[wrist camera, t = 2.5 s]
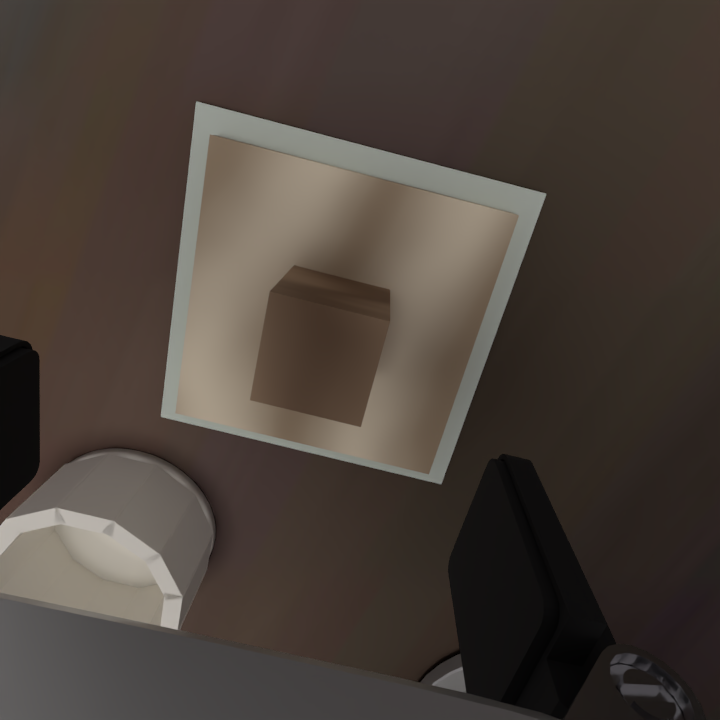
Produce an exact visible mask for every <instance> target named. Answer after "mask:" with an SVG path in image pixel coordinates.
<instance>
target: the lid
mask: <svg viewBox="0 0 720 720" xmlns="http://www.w3.org/2000/svg"><path fill="white" fill-rule="evenodd" d="M518 217H519V215H517V214H514V213H511V212H508V211H504V210H500V209H496V208H492V207H488V206H485V205H481V204H477V203H473V202H469V201H466V200H462V199H458V198H454V197H450V196H446V195H443V194H439V193H435V192H431V191H427V190H424V189H420V188H416V187H412V186H408V185H404V184H401V183H397V182H393V181H389V180H385V179H382V178H378V177H374V176H370V175H366V174H362V173H359V172H355V171H351V170H347V169H343V168H340V167H336V166H332V165H328V164H324V163H320V162H317V161H313V160H309V159H305V158H301V157H298V156H294V155H290V154H286V153H282V152H278V151H275V150H271V149H267V148H263V147H259V146H255V145H252V144H248V143H244V142H240V141H236V140H233V139H229V138H225V137H221V136H217V135H210V137H209V145H208V153H207V161H206V169H205V177H204V186H203V194H202V202H201V210H200V218H199V226H198V234H197V242H196V250H195V258H194V266H193V274H192V282H191V291H190V299H189V307H188V315H187V323H186V331H185V339H184V347H183V355H182V363H181V371H180V379H179V387H178V396H177V404H176V412H175V413H176V414H181V415H185V416H189V417H193V418H197V419H201V420H205V421H210V422H214V423H218V424H222V425H226V426H230V427H234V428H239V429H243V430H247V431H251V432H255V433H259V434H263V435H268V436H272V437H276V438H280V439H284V440H288V441H292V442H297V443H301V444H305V445H309V446H313V447H317V448H321V449H326V450H330V451H334V452H338V453H342V454H346V455H350V456H355V457H359V458H363V459H367V460H371V461H375V462H379V463H384V464H388V465H392V466H396V467H400V468H404V469H408V470H413V471H417V472H421V473H425V474H429V473H430V470H431V467H432V464H433V461H434V458H435V456H436V453H437V450H438V447H439V444H440V441H441V438H442V436H443V433H444V430H445V427H446V424H447V421H448V418H449V415H450V413H451V410H452V407H453V404H454V401H455V398H456V395H457V392H458V390H459V387H460V384H461V381H462V378H463V375H464V372H465V369H466V367H467V364H468V361H469V358H470V355H471V352H472V349H473V347H474V344H475V341H476V338H477V335H478V332H479V329H480V326H481V324H482V321H483V318H484V315H485V312H486V309H487V306H488V303H489V301H490V298H491V295H492V292H493V289H494V286H495V283H496V280H497V278H498V275H499V272H500V269H501V266H502V263H503V260H504V258H505V255H506V252H507V249H508V246H509V243H510V240H511V237H512V235H513V232H514V229H515V226H516V223H517V220H518Z"/></svg>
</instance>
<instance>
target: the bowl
mask: <svg viewBox="0 0 720 720" xmlns="http://www.w3.org/2000/svg"><path fill="white" fill-rule="evenodd" d="M215 536H216V527H215V520H214V515H213V512H212V509H211V507H210V504H209V502H208V501H207V499H206V497H205V495H204V494H203V493H202V491H201V490H200V488H199V487H198V486H197V485H196V484H195V483H194V482H193V480H192V479H191V478H189V477H188V476H187V475H186V474H185V473H184V472H183V471H181V470H180V469H178V468H177V467H175V466H174V465H172V464H171V463H169V462H167V461H165V460H163V459H161V458H159V457H156V456H154V455H151V454H148V453H145V452H141V451H137V450H131V449H121V448H111V449H102V450H96V451H92V452H89V453H86V454H84V455H82V456H80V457H78V458H76V459H74V460H73V461H72V462H70V463H68V464H64V465H63V466H62V467H61V468H60V469H59V470H58V471H57V472H56V473H55V474H54V475H53V476H51V477H50V478H49V479H48V480H47V481H46V482H45V483H44V484H43V485H42V486H41V487H40V488H39V489H37V490H36V491H35V492H34V493H33V494H32V495H31V496H30V497H29V498H28V499H27V500H26V501H24V502H23V503H22V504H21V505H20V506H19V507H18V508H17V509H16V510H15V511H14V512H13V513H12V514H10V515H9V516H8V517H7V518H6V519H5V521H4V522H3V523H2V525H1V526H0V593H5V594H9V595H14V596H19V597H24V598H29V599H34V600H39V601H44V602H48V603H53V604H58V605H63V606H67V607H72V608H77V609H82V610H86V611H91V612H96V613H101V614H105V615H110V616H115V617H120V618H124V619H129V620H134V621H139V622H144V623H148V624H153V625H158V626H162V627H167V628H172V629H176V630H180V628H181V626H182V624H183V622H184V619H185V617H186V615H187V613H188V610H189V608H190V606H191V604H192V602H193V599H194V597H195V595H196V593H197V590H198V588H199V586H200V584H201V582H202V579H203V577H204V575H205V573H206V570H207V568H208V561H209V556H210V554H211V552H212V549H213V546H214V543H215Z"/></svg>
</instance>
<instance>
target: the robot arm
mask: <svg viewBox="0 0 720 720" xmlns="http://www.w3.org/2000/svg"><path fill="white" fill-rule="evenodd" d="M39 463H40V397H39V355H38V353H37V352H36V351H34V350H32V347H31V344H30V343H28V342H27V341H23V340H19V339H14V338H10V337H6V336H2V335H0V510H1V509H2V508H3V507H4V506H5V505H6V504H7V503H8V502H9V501H10V500H11V499H12V498H13V497H14V496H15V495H17V494H18V493H19V492H20V491H21V490H22V489H23V488H24V487H25V486H26V485H27V484H28V483H29V482H30V481H31V480H32V479H33V478H34V476H35V475H36V473H37V471H38V468H39ZM448 573H449V580H450V587H451V594H452V600H453V607H454V614H455V620H456V627H457V634H458V641H459V647H460V654H458V655H456V656H454V657H452V658H450V659H448V660H447V661H445V662H443V663H441V664H440V665H438V666H437V667H436V668H435V669H433V670H432V671H431V672H429V673H428V674H427V675H426V676H425V677H424V678H423V680H422V681H421V682H415V681H411V680H407V679H403V678H398V677H394V676H389V675H385V674H380V673H376V672H371V671H366V670H362V669H357V668H353V667H348V666H343V665H339V664H334V663H330V662H325V661H321V660H316V659H311V658H307V657H302V656H298V655H293V654H288V653H284V652H279V651H275V650H270V649H265V648H261V647H256V646H252V645H247V644H242V643H238V642H233V641H228V640H224V639H219V638H214V637H209V636H205V635H200V634H195V633H191V632H186V631H181V630H176V629H172V628H167V627H162V626H158V625H153V624H148V623H144V622H139V621H134V620H129V619H124V618H120V617H115V616H110V615H105V614H101V613H96V612H91V611H86V610H82V609H77V608H72V607H67V606H63V605H58V604H53V603H48V602H44V601H39V600H34V599H29V598H24V597H19V596H14V595H9V594H5V593H0V720H706V717H705V715H704V712H703V709H702V706H701V704H700V702H699V701H698V699H697V698H696V696H695V694H694V693H693V691H692V690H691V688H690V687H689V686H688V685H687V684H686V683H685V682H684V680H683V679H682V678H681V677H680V676H679V675H678V674H677V673H676V672H675V671H674V670H673V669H671V668H670V667H669V666H668V665H667V664H665V663H664V662H663V661H662V660H660V659H658V658H657V657H655V656H653V655H652V654H650V653H649V652H647V651H644V650H642V649H639V648H637V647H634V646H632V645H625V644H616V642H615V640H614V638H613V636H612V634H611V632H610V629H609V627H608V625H607V623H606V620H605V618H604V616H603V614H602V612H601V610H600V608H599V605H598V603H597V601H596V599H595V597H594V595H593V593H592V591H591V588H590V586H589V584H588V582H587V580H586V578H585V576H584V573H583V571H582V569H581V567H580V565H579V563H578V561H577V558H576V556H575V554H574V552H573V550H572V548H571V546H570V543H569V541H568V539H567V537H566V535H565V533H564V531H563V528H562V526H561V524H560V522H559V520H558V518H557V516H556V513H555V511H554V509H553V507H552V505H551V503H550V501H549V498H548V496H547V494H546V492H545V490H544V488H543V486H542V483H541V481H540V479H539V477H538V475H537V473H536V471H535V468H534V466H533V464H532V463H531V461H530V460H527V459H522V458H518V457H514V456H510V455H505V454H502V455H500V457H499V458H498V460H497V459H491V460H490V461H489V462H488V464H487V467H486V469H485V471H484V474H483V476H482V479H481V481H480V484H479V486H478V489H477V491H476V494H475V496H474V499H473V501H472V504H471V506H470V508H469V511H468V513H467V516H466V518H465V521H464V523H463V526H462V528H461V531H460V533H459V536H458V538H457V541H456V543H455V545H454V548H453V550H452V553H451V556H450V560H449V566H448Z"/></svg>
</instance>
